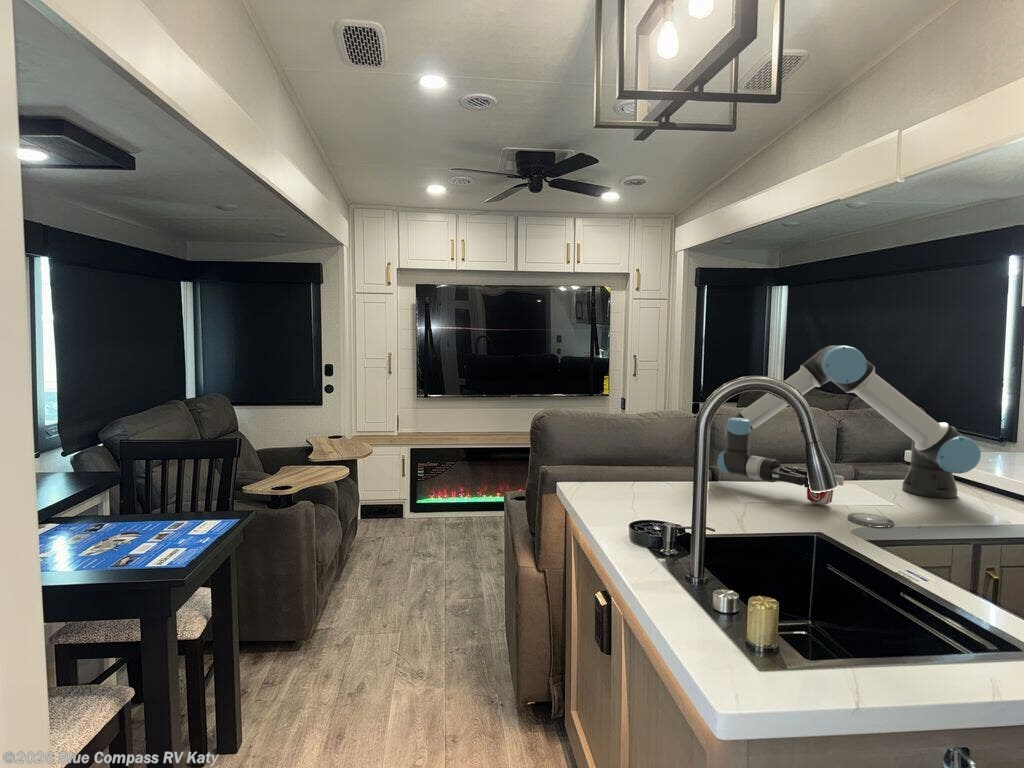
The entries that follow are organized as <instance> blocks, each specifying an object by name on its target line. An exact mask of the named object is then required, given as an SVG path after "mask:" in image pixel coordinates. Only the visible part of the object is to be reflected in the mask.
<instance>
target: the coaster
mask: <svg viewBox="0 0 1024 768" xmlns="http://www.w3.org/2000/svg"><path fill="white" fill-rule="evenodd" d="M847 519H848V520H849V521H850V520H851V521H850V522H852V521H853V522H852V523H854V522H856V523H855V524H857V523H859V524H858V525H860V524H864V525H863V526H865V525H871V526H883V527H884V526H885V527H888V526H892V525H893V526H894V523H895V522H894V521H893V520H892V519H890V518H888V517H885V516H881V515H878V514H872V513H867V512H866V513H864V512H853V513H848V515H847ZM893 526H892V527H893ZM888 528H889V527H888Z"/></svg>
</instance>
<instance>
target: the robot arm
mask: <svg viewBox="0 0 1024 768" xmlns="http://www.w3.org/2000/svg"><path fill="white" fill-rule="evenodd" d="M783 382H785V383H787V384H789V385H791V386H792V387H794V388H795V389H796V390H798V391H799V392H800V393H801V394H802V396H804V395H805V394H806V393H808V392H809V391H810V390H812V389H813V388H816V387H817V388H820V387H822V386H823V385H824V384H826V383H828V382H832V383H834V385H836V386H837V387H839V388H840V389H841V390H842V391H843V392H845V393H847V394H849V393H850V394H851V393H854V394H855V395H857V396H858V397H859V398H860V399H861V400H863V401H864V402H865V403H866V404H868V405H869V406H870V407H871V408H872V409H874V410H875V411H876V412H877V413H879V414H880V415H881V416H883V417H884V418H885V419H886V420H888V421H889V422H890V423H891V424H893V425H894V426H895V427H896V428H897V429H898V430H900V431H901V432H902V433H904V434H905V435H906V436H907V437H909V438H910V439H911V449H910V450H911V452H910V464H909V469H908V471H907V473H906V475H905V477H904V480H903V481H902V487H901V488H902V490H903V491H905V492H907V493H909V494H914V495H918V496H922V497H927V498H928V497H930V498H935V499H937V498H938V499H955V498H957V497H958V487H957V483H956V480H955V477H954V474H957V475H958V474H959V475H960V474H967V473H968V472H971V471H972V470H973V469H975V468H976V467H977V466H978V464H979V463H980V460H981V449H980V446H979V445H978V444H977V442H976V441H974V440H973V439H972V438H970V437H968V436H964V435H963V434H962V433H960V432H959V431H957V429H956V427H955V426H951V425H950V424H949V423H947V422H944V421H943V422H938V421H936V420H935V419H934V418H933V417H931V416H930V415H929V414H928V413H926V412H925V411H924V410H923V409H921V408H920V407H918V406H917V405H916V404H915V403H914V402H912V401H911V400H910V399H908V398H907V397H906V396H905V395H904V394H902V393H901V392H899V391H898V390H897V389H896V388H895V387H893V386H892V385H891V384H890V383H889V382H887V381H886V380H884V379H883V378H882V377H880V376H879V375H878V374H877V373H876V367H875V365H873V363H872V362H870V361H869V360H867V359H866V357H865V355H864V354H863V353H862V351H860V350H859V349H857V348H856V347H853V346H850V345H828V346H825V347H824V348H821V349H820V350H819V351H817V352H816V353H815V354H814V355H813V356H811V357H810V358H808V360H806V361H805V362H804V363H802V364H800V367H799V370H798V371H796V372H795V373H793V374H792V375H790V376H789V377H788V378H787V379H785V380H783ZM787 406H789V405H788V404H787V403H786V402H785V401H784V400H782V399H780V398H778V397H776V396H774V395H772V394H769V393H768V392H767V393H765V394H763V396H761V397H760V398H758V399H757V400H756V401H754V402H752V404H750V405H749V406H747V407H746V408H744V409H743V410H742V411H740V412H739V413H737V414H736V415H734V416H733V417H729V418H727V419H726V420H725V421H724V423H723V425H722V431H723V434H724V436H725V437H726V438H725V439H726V442H725V443H726V445H725V446H726V447H725V450H723V451H721V452H720V453H719V454H718V458H717V461H716V463H717V467H718V469H719V470H720V471H721V472H723V473H727V474H731V475H734V476H740V477H747V478H751V479H753V480H754V481H757V480H760V481H764V482H769V483H775V482H777V481H780V482H784V483H788V484H794V485H797V486H804V488H807V487H808V478H807V471H806V469H807V468H803V467H798V466H793V465H791V466H789V465H783V466H782V465H781V464H780V463H781V462H780V461H779V460H778V459H775V458H768V457H763V456H759V455H752V454H750V440H751V432H753V430H754V429H756V428H758V427H759V426H760V425H762V424H763V423H764V422H766V421H767V420H769V419H770V418H772V417H774V416H775V415H776V414H778V413H779V412H781V411H782V410H783V409H785V408H786V407H787ZM834 475H835V476H836V478H837V482H838V485H837V486H841V487H842V486H844V483H845V482H844V479H845V477H844V476H842V475H836V474H834Z"/></svg>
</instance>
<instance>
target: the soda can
mask: <svg viewBox="0 0 1024 768" xmlns="http://www.w3.org/2000/svg"><path fill="white" fill-rule="evenodd" d="M833 495H834V489H833V490H831V491H826V492H821V493H814V492H811V491H810V489H809V484H808V487H806V499H807V500H808V501H809V502H810V503H813V504H816V505H825V506H826V505H828V504H830V503H832V501H833V497H834V496H833Z"/></svg>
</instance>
